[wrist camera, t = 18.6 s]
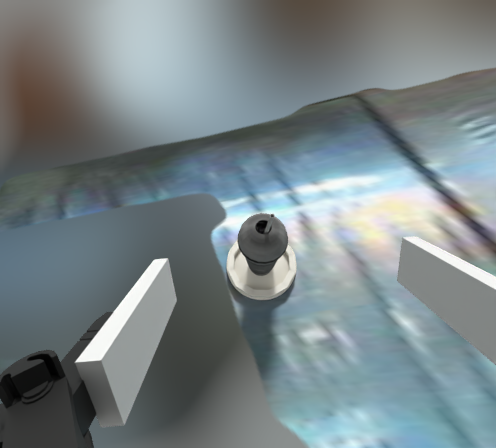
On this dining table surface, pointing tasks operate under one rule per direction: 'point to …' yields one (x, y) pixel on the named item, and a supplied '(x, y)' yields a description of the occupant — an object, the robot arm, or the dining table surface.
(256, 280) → the plate
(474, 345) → the robot arm
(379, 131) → the dining table surface
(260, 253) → the beverage cup
